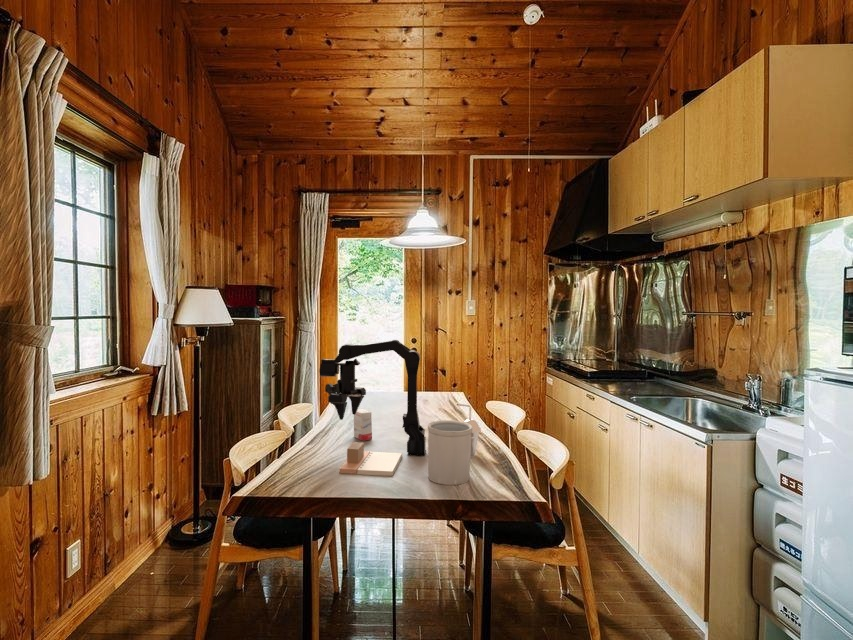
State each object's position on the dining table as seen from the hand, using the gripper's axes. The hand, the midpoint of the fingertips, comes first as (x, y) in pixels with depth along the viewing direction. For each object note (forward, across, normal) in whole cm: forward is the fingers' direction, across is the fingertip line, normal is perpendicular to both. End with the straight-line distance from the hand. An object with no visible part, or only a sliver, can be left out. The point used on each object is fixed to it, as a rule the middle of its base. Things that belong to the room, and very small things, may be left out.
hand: (347, 416), depth 180 cm
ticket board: (+14, +8, +18) cm, 24 cm away
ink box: (+14, -20, -5) cm, 25 cm away
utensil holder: (+14, +10, +45) cm, 48 cm away
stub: (+14, +10, +9) cm, 20 cm away
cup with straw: (+15, -16, +44) cm, 49 cm away
